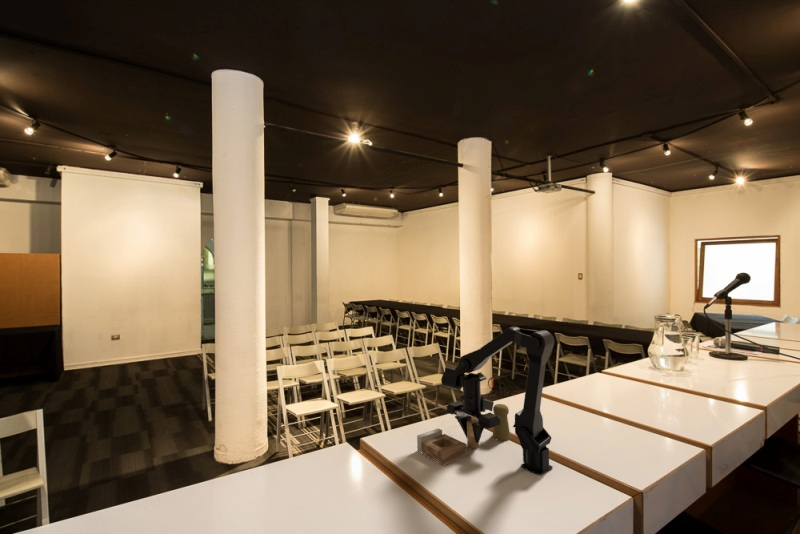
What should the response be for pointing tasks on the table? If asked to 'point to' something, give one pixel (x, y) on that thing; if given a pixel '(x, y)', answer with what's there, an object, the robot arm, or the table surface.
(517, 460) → the table surface
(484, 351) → the robot arm
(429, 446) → the socket block
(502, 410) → the cork
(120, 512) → the table surface
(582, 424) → the table surface
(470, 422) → the dowel
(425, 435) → the wall
